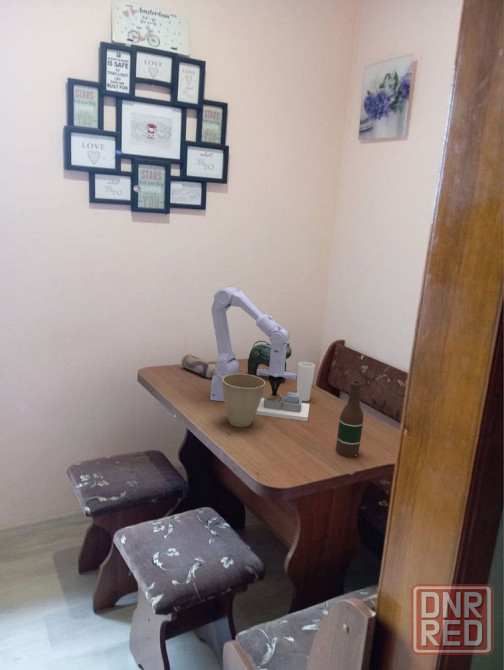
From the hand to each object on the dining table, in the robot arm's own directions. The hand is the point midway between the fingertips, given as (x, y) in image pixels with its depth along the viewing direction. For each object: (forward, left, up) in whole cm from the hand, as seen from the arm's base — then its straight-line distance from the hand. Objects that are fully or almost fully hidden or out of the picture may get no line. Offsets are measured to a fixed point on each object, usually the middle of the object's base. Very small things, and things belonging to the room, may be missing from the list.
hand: (274, 395), depth 203 cm
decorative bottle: (-35, +30, -6) cm, 46 cm away
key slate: (+7, 0, -1) cm, 7 cm away
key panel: (+3, 0, -6) cm, 7 cm away
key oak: (0, 0, -2) cm, 2 cm away
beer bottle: (+27, -28, -6) cm, 40 cm away
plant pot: (-10, -17, -6) cm, 20 cm away
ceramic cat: (-7, +35, -6) cm, 37 cm away
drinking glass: (+10, +15, -6) cm, 19 cm away
